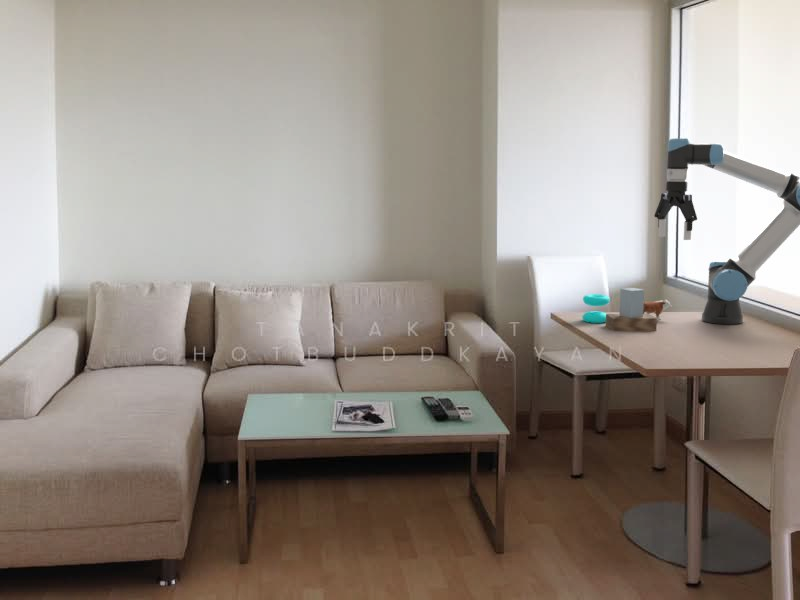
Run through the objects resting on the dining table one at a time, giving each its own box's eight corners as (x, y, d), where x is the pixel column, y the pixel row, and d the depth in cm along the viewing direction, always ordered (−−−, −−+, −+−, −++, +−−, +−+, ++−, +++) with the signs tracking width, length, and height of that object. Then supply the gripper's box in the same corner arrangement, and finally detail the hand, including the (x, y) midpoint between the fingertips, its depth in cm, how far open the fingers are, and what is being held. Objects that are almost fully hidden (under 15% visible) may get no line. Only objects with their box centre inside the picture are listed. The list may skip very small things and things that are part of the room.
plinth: (647, 326, 361) (648, 313, 360) (656, 331, 351) (656, 318, 350) (605, 327, 360) (606, 314, 359) (613, 332, 350) (613, 318, 349)
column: (631, 314, 359) (632, 287, 357) (643, 316, 354) (644, 289, 352) (619, 315, 356) (620, 288, 354) (630, 317, 351) (632, 290, 349)
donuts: (601, 298, 361) (578, 295, 367) (600, 324, 362) (577, 321, 369) (614, 295, 368) (591, 293, 375) (613, 321, 370) (590, 318, 376)
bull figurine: (671, 321, 369) (672, 300, 368) (635, 320, 372) (636, 299, 370) (669, 319, 374) (670, 299, 372) (634, 318, 376) (635, 298, 375)
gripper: (646, 179, 364) (644, 235, 367) (693, 181, 341) (690, 241, 345) (662, 179, 367) (659, 235, 370) (709, 181, 345) (706, 240, 348)
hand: (674, 238), depth 357 cm, fingers open, 13 cm apart
